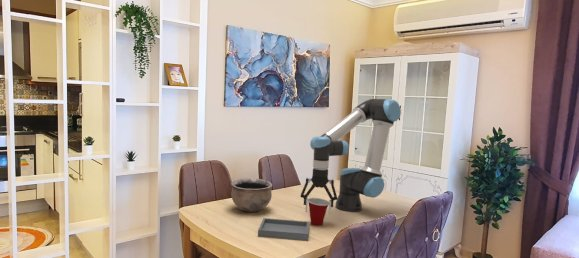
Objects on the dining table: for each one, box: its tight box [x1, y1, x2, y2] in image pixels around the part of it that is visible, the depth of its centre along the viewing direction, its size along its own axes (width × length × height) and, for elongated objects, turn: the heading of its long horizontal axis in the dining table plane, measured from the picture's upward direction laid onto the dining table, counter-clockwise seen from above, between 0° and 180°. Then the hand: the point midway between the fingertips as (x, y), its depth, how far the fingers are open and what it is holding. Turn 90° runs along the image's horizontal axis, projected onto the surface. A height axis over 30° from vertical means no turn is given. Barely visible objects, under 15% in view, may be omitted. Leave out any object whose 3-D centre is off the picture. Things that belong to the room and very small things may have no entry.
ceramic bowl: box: [230, 178, 273, 213], centre depth 195 cm, size 22×22×15 cm
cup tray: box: [257, 217, 310, 242], centre depth 166 cm, size 22×16×3 cm
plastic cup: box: [308, 197, 329, 227], centre depth 178 cm, size 11×11×12 cm
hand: (317, 212), depth 178 cm, fingers closed on plastic cup, 11 cm apart
